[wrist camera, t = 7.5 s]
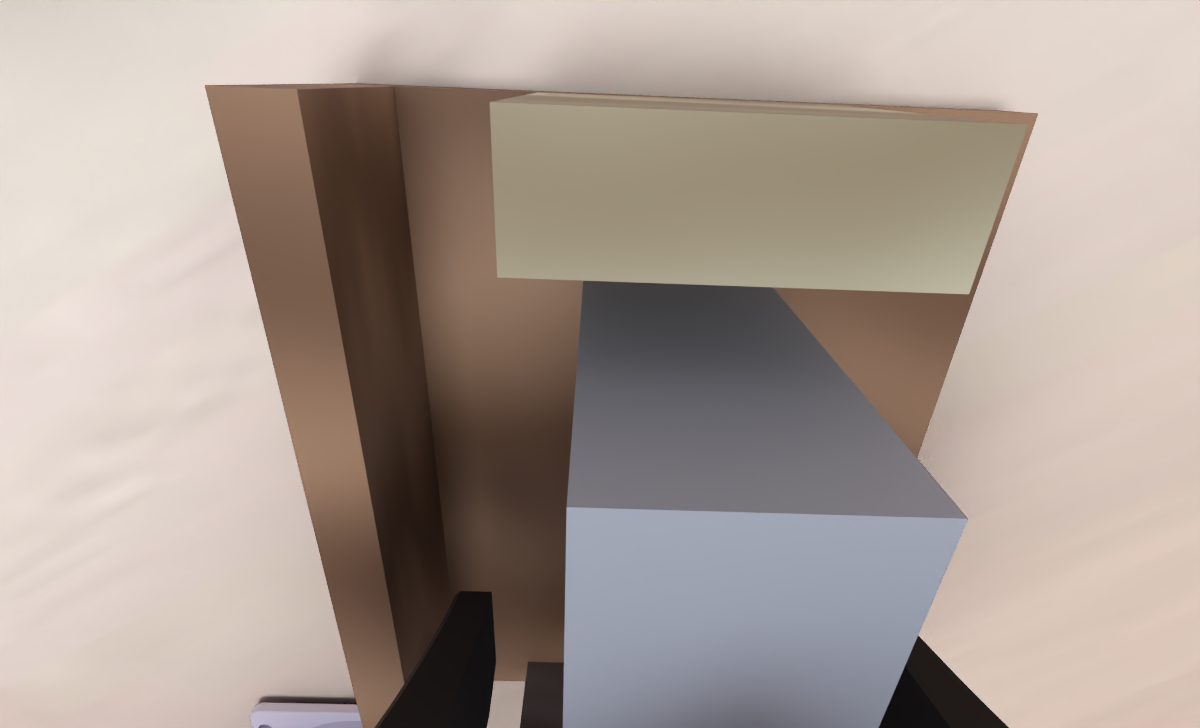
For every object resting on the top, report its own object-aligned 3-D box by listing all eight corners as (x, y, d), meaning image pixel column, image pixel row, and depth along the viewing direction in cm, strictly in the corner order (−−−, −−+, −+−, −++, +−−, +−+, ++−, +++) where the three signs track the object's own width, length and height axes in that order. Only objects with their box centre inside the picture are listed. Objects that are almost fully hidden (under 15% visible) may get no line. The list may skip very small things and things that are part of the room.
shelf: (823, 655, 20) (916, 894, 14) (433, 647, 20) (364, 886, 14) (999, 110, 12) (1375, 138, 6) (355, 83, 12) (119, 87, 6)
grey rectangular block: (761, 273, 13) (967, 519, 6) (698, 634, 18) (764, 995, 11) (583, 266, 13) (566, 506, 6) (573, 632, 18) (558, 992, 11)
